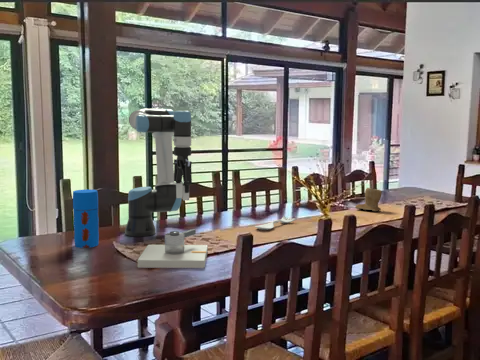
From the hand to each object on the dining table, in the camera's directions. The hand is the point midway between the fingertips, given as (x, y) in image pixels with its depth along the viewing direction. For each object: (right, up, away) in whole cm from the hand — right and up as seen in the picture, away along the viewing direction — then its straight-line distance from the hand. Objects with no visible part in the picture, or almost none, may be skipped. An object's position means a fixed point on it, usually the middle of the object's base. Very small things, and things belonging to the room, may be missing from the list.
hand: (182, 198), depth 216 cm
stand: (-2, -25, -12) cm, 27 cm away
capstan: (+1, -21, -8) cm, 22 cm away
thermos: (-45, -22, +9) cm, 51 cm away
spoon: (+45, -17, +54) cm, 72 cm away
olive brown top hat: (+110, -12, +105) cm, 153 cm away
